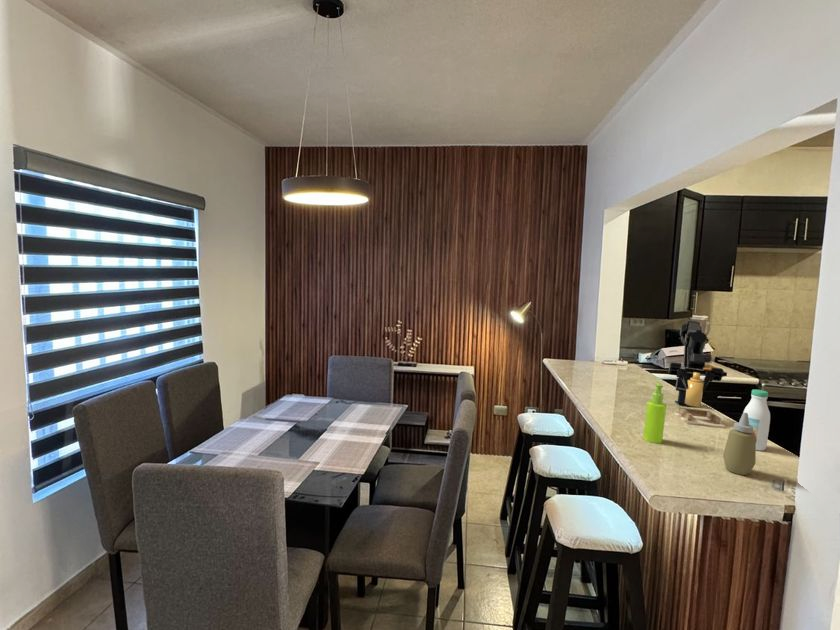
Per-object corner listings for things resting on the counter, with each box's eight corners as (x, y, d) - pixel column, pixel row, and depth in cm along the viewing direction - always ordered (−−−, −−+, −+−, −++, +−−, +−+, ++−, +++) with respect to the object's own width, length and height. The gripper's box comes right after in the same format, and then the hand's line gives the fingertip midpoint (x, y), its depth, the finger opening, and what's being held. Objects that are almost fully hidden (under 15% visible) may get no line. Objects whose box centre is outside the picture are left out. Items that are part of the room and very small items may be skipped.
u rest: (674, 413, 194) (675, 406, 194) (710, 417, 192) (711, 410, 192) (687, 424, 181) (688, 416, 180) (726, 428, 178) (727, 420, 178)
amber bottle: (681, 401, 187) (685, 370, 185) (695, 402, 187) (699, 371, 186) (690, 406, 182) (694, 374, 180) (704, 406, 182) (708, 374, 180)
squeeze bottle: (714, 465, 142) (722, 408, 140) (739, 465, 142) (747, 409, 140) (734, 477, 134) (743, 417, 132) (760, 477, 134) (769, 418, 132)
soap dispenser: (659, 437, 163) (666, 382, 161) (663, 444, 156) (670, 387, 154) (641, 434, 165) (648, 380, 163) (644, 441, 158) (651, 384, 156)
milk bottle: (756, 443, 163) (764, 388, 161) (771, 452, 156) (779, 394, 153) (733, 441, 164) (741, 387, 162) (747, 450, 156) (755, 392, 154)
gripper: (672, 342, 189) (671, 374, 180) (726, 348, 181) (727, 382, 173) (668, 358, 197) (667, 389, 188) (719, 364, 189) (721, 397, 181)
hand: (695, 389), depth 182 cm, fingers closed on amber bottle, 6 cm apart
